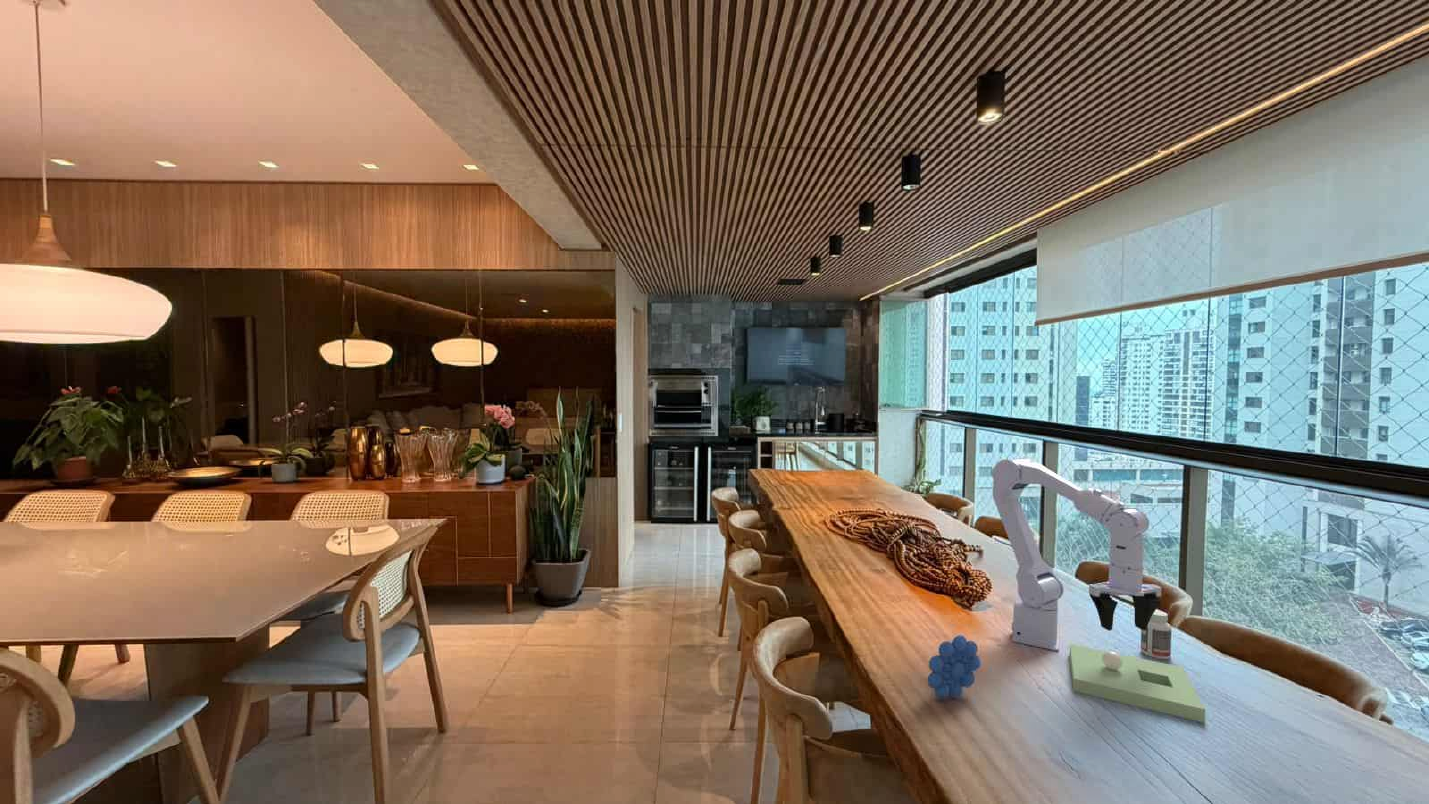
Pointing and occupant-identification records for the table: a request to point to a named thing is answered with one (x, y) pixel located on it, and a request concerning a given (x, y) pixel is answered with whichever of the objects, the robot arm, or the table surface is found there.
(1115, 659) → the ball
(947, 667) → the grapes
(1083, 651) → the putting mat
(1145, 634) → the pill bottle
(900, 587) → the table surface
